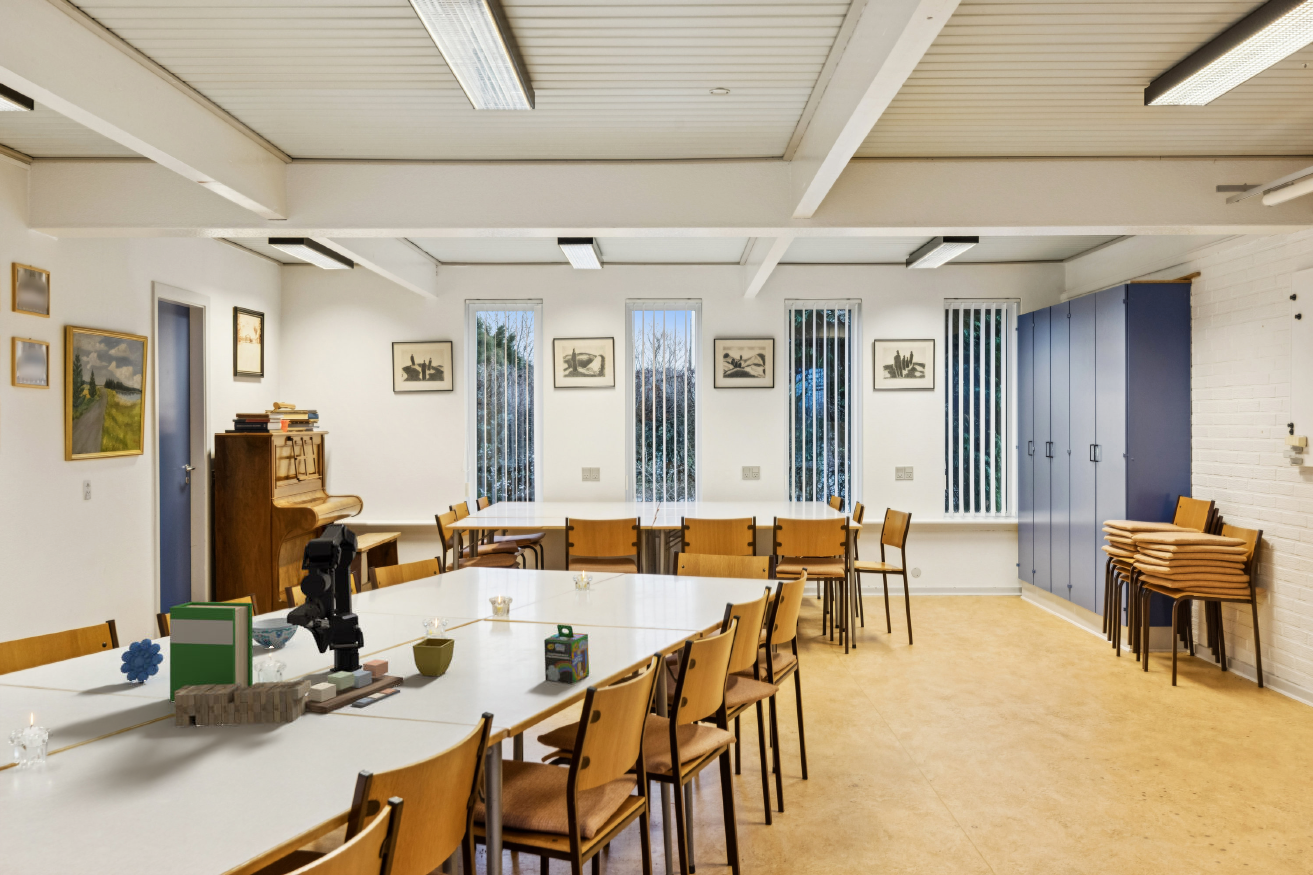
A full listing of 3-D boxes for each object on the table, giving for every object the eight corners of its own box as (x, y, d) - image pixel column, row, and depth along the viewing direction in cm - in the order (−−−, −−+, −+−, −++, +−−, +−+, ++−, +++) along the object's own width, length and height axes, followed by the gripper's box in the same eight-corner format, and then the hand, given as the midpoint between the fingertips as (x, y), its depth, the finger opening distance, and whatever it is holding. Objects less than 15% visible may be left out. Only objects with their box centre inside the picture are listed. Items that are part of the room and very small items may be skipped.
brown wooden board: (291, 707, 190) (291, 700, 190) (370, 678, 214) (370, 672, 214) (327, 713, 185) (327, 707, 185) (403, 682, 209) (403, 677, 209)
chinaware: (308, 644, 253) (308, 620, 253) (264, 654, 240) (264, 629, 240) (282, 638, 261) (282, 615, 261) (238, 648, 248) (238, 624, 248)
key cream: (308, 699, 190) (308, 687, 190) (322, 694, 195) (322, 682, 195) (321, 701, 189) (321, 689, 189) (336, 696, 193) (335, 684, 193)
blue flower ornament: (172, 677, 217) (172, 634, 217) (156, 684, 210) (156, 640, 210) (131, 677, 217) (131, 635, 217) (114, 684, 210) (114, 640, 211)
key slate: (345, 685, 201) (345, 674, 201) (358, 681, 206) (358, 669, 206) (358, 687, 200) (358, 676, 200) (371, 682, 204) (371, 671, 204)
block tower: (169, 731, 177) (299, 722, 180) (167, 695, 178) (298, 686, 180) (187, 719, 185) (312, 711, 188) (185, 684, 185) (310, 676, 188)
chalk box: (589, 675, 215) (589, 622, 215) (572, 684, 206) (572, 629, 207) (561, 671, 218) (561, 619, 219) (543, 680, 210) (543, 626, 210)
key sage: (327, 687, 196) (327, 675, 196) (341, 682, 200) (341, 671, 200) (340, 689, 194) (340, 677, 194) (354, 684, 198) (354, 672, 198)
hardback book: (252, 695, 200) (252, 602, 201) (232, 704, 193) (232, 608, 193) (191, 692, 203) (191, 601, 203) (170, 701, 195) (169, 607, 196)
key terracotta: (363, 674, 207) (363, 663, 207) (375, 670, 211) (375, 659, 211) (375, 676, 205) (375, 665, 205) (388, 672, 209) (388, 661, 209)
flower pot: (440, 679, 212) (440, 646, 212) (411, 677, 214) (411, 645, 214) (455, 670, 221) (455, 638, 221) (427, 668, 223) (427, 637, 223)
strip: (351, 705, 191) (351, 702, 191) (389, 690, 203) (389, 687, 203) (362, 707, 189) (362, 703, 189) (400, 692, 201) (400, 688, 201)
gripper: (267, 593, 189) (268, 657, 188) (323, 598, 181) (324, 665, 181) (305, 585, 199) (305, 646, 199) (359, 590, 191) (360, 653, 191)
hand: (322, 652), depth 192 cm, fingers closed
